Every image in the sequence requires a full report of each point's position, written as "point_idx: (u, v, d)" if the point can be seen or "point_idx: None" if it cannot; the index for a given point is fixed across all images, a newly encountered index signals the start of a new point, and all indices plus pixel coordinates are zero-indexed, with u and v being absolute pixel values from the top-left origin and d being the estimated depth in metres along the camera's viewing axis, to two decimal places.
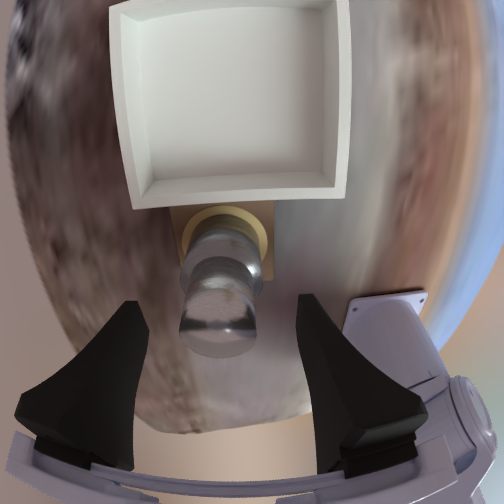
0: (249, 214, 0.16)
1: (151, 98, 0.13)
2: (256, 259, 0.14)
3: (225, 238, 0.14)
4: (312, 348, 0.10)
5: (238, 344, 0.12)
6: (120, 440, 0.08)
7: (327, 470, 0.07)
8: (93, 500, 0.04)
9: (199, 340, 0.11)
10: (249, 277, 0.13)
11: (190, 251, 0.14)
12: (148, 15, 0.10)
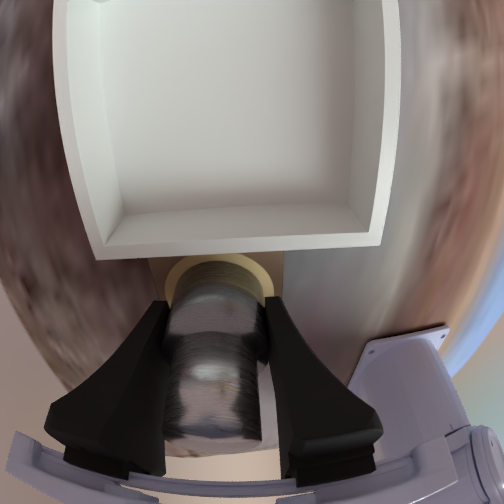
0: (251, 260, 0.12)
1: (115, 105, 0.09)
2: (261, 331, 0.10)
3: (218, 305, 0.10)
4: (273, 352, 0.10)
5: (238, 446, 0.08)
6: (154, 445, 0.08)
7: (284, 476, 0.07)
8: (93, 500, 0.04)
9: (188, 442, 0.08)
10: (251, 358, 0.09)
11: (172, 319, 0.10)
12: None
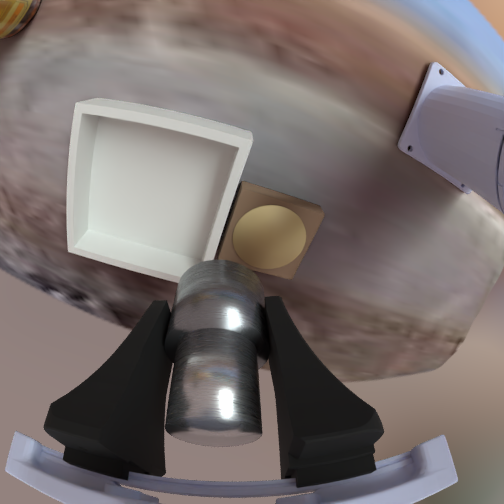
0: (250, 211, 0.19)
1: (142, 239, 0.21)
2: (260, 327, 0.10)
3: (218, 302, 0.10)
4: (273, 351, 0.10)
5: (240, 439, 0.08)
6: (154, 445, 0.08)
7: (284, 476, 0.07)
8: (93, 500, 0.04)
9: (191, 436, 0.08)
10: (251, 353, 0.10)
11: (174, 318, 0.10)
12: (83, 225, 0.19)
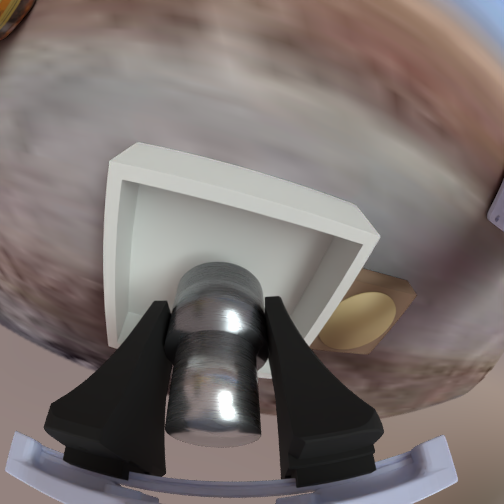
0: (345, 300, 0.15)
1: None
2: (257, 327, 0.10)
3: (214, 304, 0.10)
4: (273, 352, 0.10)
5: (239, 439, 0.08)
6: (154, 445, 0.08)
7: (284, 476, 0.07)
8: (93, 500, 0.04)
9: (192, 437, 0.08)
10: (249, 354, 0.10)
11: (172, 321, 0.11)
12: (124, 312, 0.15)
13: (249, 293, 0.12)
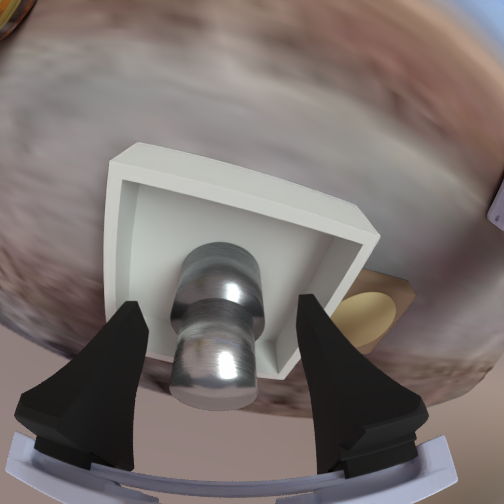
0: (346, 300, 0.15)
1: None
2: (254, 297, 0.12)
3: (216, 275, 0.12)
4: (312, 348, 0.10)
5: (238, 400, 0.10)
6: (120, 440, 0.08)
7: (327, 470, 0.07)
8: (93, 500, 0.04)
9: (193, 397, 0.09)
10: (247, 320, 0.11)
11: (178, 292, 0.12)
12: None
13: (247, 268, 0.13)
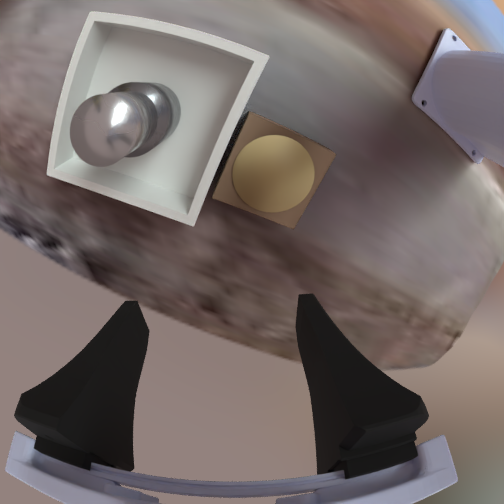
0: (256, 140, 0.16)
1: (130, 169, 0.18)
2: (162, 95, 0.12)
3: None
4: (312, 348, 0.10)
5: (118, 142, 0.10)
6: (120, 440, 0.08)
7: (327, 470, 0.07)
8: (93, 500, 0.04)
9: (85, 140, 0.10)
10: (150, 103, 0.12)
11: None
12: (68, 149, 0.15)
13: (165, 90, 0.14)
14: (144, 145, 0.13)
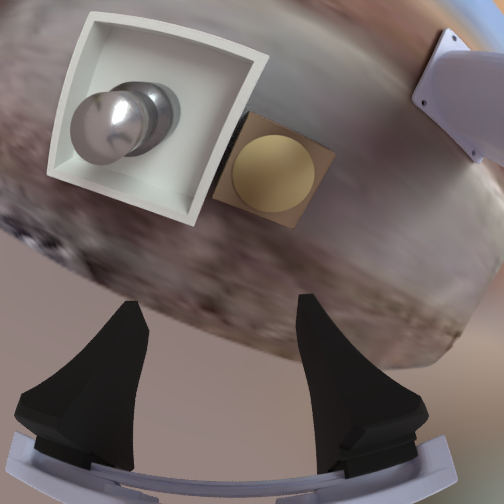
0: (256, 140, 0.16)
1: (130, 169, 0.18)
2: (162, 95, 0.12)
3: None
4: (312, 348, 0.10)
5: (118, 141, 0.10)
6: (120, 440, 0.08)
7: (327, 470, 0.07)
8: (93, 500, 0.04)
9: (85, 138, 0.10)
10: (150, 103, 0.12)
11: None
12: (68, 149, 0.15)
13: (166, 91, 0.14)
14: (144, 145, 0.13)
